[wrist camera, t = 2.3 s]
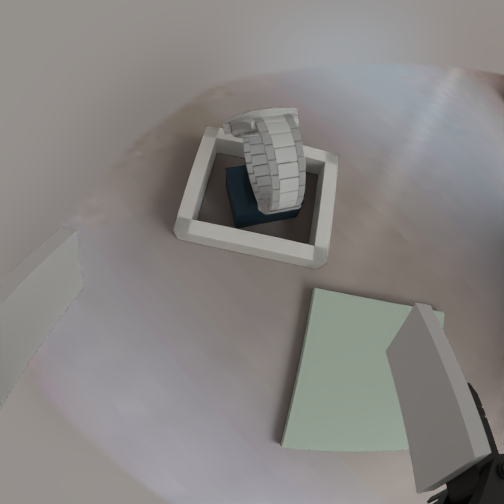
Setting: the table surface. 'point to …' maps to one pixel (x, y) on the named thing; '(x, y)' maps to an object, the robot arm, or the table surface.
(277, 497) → the table surface
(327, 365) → the mat
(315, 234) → the dock
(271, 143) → the watch
